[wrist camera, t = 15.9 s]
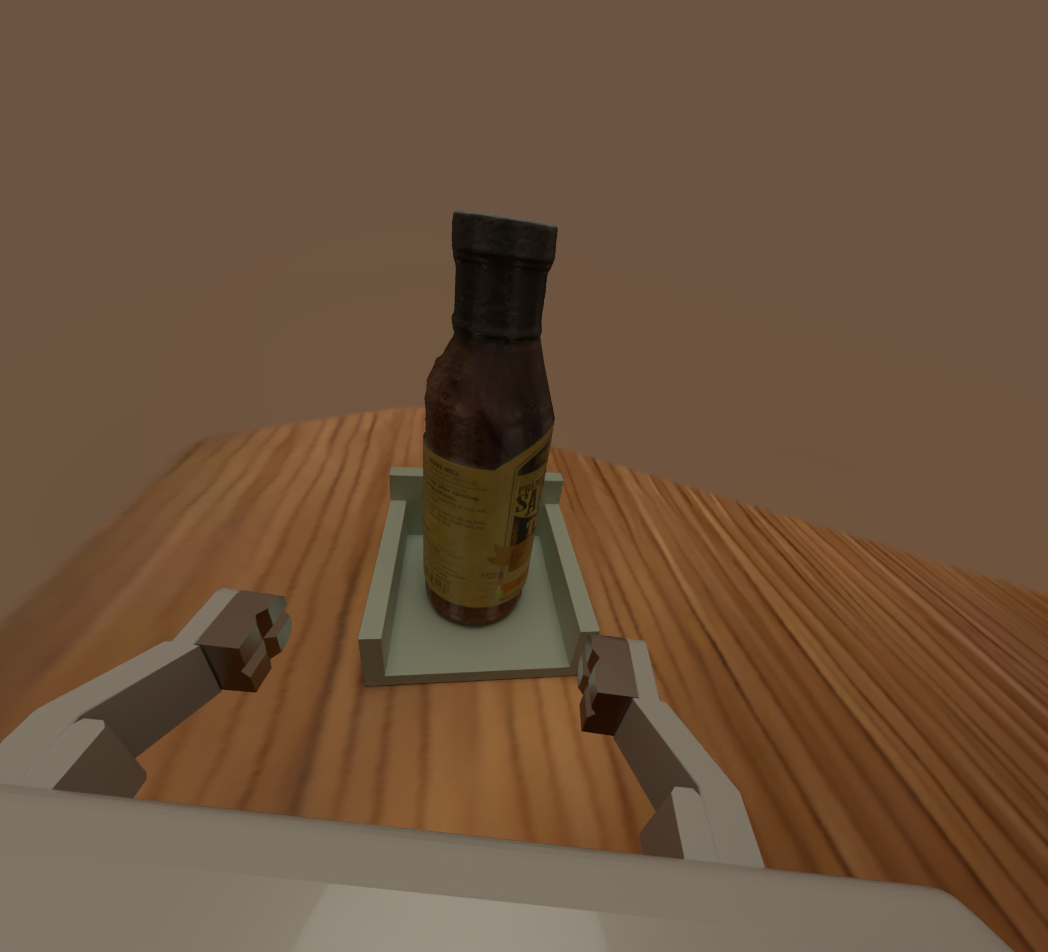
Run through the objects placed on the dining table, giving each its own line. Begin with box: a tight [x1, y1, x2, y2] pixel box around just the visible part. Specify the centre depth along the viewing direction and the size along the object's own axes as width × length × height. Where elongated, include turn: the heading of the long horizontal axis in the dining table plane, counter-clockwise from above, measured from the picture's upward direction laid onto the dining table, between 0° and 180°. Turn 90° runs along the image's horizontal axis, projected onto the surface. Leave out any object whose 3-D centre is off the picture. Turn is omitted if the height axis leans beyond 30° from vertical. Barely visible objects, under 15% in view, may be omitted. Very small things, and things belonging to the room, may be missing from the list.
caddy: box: [358, 467, 600, 686], centre depth 25 cm, size 12×12×6 cm
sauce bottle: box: [423, 210, 558, 624], centre depth 20 cm, size 6×6×20 cm
